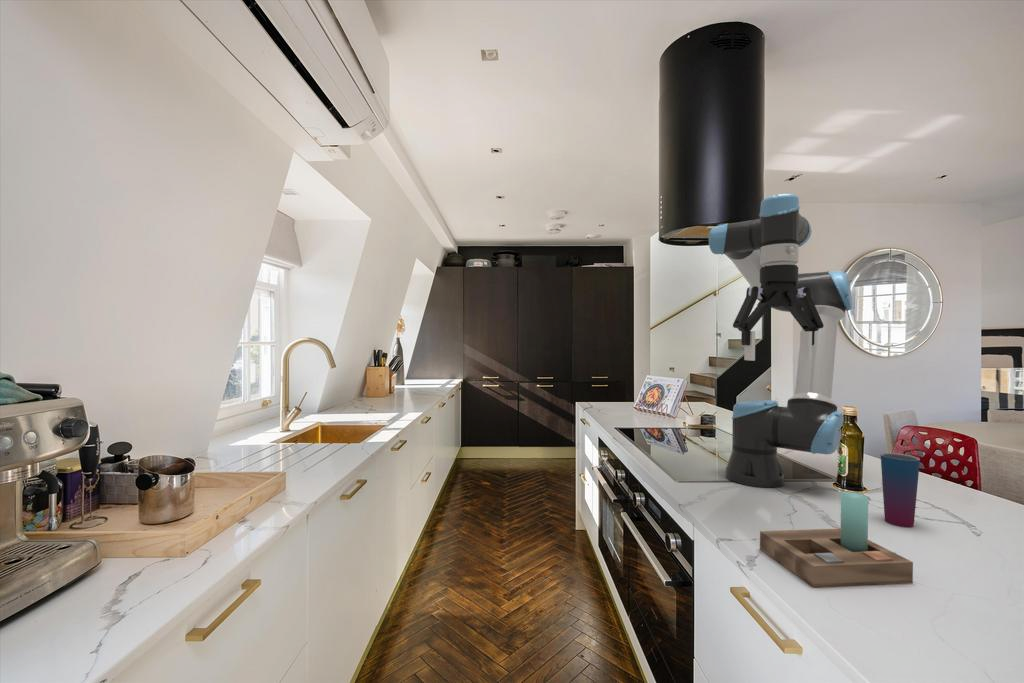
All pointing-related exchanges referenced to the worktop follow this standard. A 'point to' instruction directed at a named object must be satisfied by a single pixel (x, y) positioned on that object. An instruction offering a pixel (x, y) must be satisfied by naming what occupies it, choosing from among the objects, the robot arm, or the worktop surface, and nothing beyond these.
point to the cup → (899, 488)
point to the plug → (854, 522)
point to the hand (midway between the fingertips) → (777, 360)
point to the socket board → (834, 559)
